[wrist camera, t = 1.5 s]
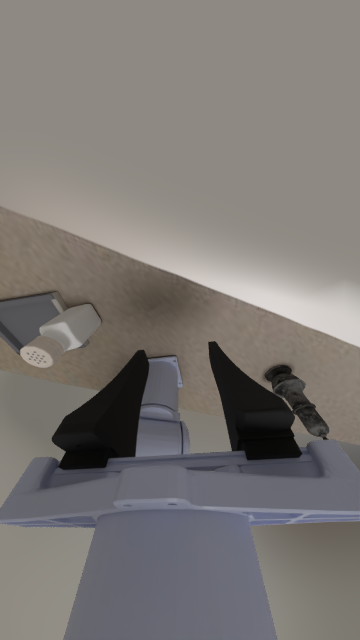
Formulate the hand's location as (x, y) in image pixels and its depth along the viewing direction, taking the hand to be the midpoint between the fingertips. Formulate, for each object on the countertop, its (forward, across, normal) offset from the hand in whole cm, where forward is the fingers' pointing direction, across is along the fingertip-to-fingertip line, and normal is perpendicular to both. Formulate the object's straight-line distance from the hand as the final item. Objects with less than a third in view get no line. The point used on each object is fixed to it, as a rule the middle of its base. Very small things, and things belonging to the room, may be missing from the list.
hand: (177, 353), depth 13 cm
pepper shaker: (+11, +15, -1) cm, 18 cm away
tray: (+10, +24, 0) cm, 26 cm away
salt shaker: (+11, -19, +19) cm, 29 cm away
